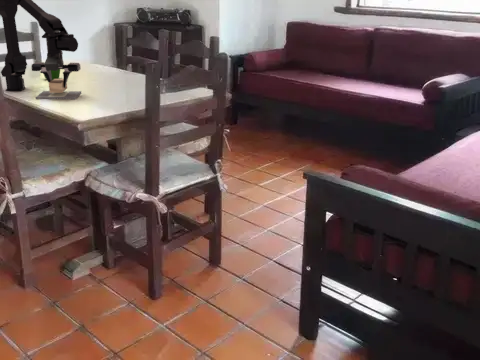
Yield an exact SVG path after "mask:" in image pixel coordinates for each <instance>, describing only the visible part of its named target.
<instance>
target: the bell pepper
mask: <svg viewBox="0 0 480 360" xmlns="http://www.w3.org/2000/svg"><path fill="white" fill-rule="evenodd" d="M60 74H61V69H58V70H57V71H54V70H51V75H52V80H54V79H60ZM43 76H44V78H45V79H46V80H47V78H46V76H45V75H44V74H43Z"/></svg>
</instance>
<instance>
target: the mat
mask: <svg viewBox="0 0 480 360" xmlns="http://www.w3.org/2000/svg"><path fill="white" fill-rule="evenodd" d="M81 94H82V91H81V90H80V91H79V90H75V91H73V90H72V91H70V90H67V91H66V90H65V91H63V92H62V93H50V91H49V90H44V91H42V92H41V93H39V94H38V95H36V96H35V99H36V100H77V98H78V97H79V96H81Z"/></svg>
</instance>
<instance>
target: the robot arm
mask: <svg viewBox="0 0 480 360" xmlns="http://www.w3.org/2000/svg"><path fill="white" fill-rule="evenodd" d="M19 6H20V7H21V8H22V9H23V10H24V11H25V12H26V13H28V14H29V15H30V16H31V17H33V18H34V19H35V20H36V21H37V22H38V26H39V27H40V28H41V29H42V31H43V32H44V34H42V36H41V39H45V41H46V50H47V51H46V52H47V53H46V59H45V60H44V62H43V61H41V62H40V61H39V62H38V61H37V62H33V63H32V64H31V71H32V72H40V73H41V74H43V76H44V75H45V76H46V78H47V79H46V78H45V79H46V80H47V82H48V83H49V82H50V81H52V75H51V70H54V71H57V70H58V69H60V70H63V71H62V74H63V75H62V76H63V79H64V88H65V87H66V84H67V85H68V80H69V77H70V75H71V73H73V72H74V73H75V72H79V71H80V70H81V64H80V63H79V62H70V63H68V64H64V59H63V52H72V53H74V52H76V51H78V48H79V43H78V42H79V41H78V40H77V37H74V36H75V35H74V34H73V33H68V30H67V29H66V28H65V26H64V25H63V22H62V20H61V19H60V18H59V17H57V16H56V15H54V14H51V13H48V12H47V11H45V10H44V9H43V8H42V7H40V6H39V5H38V4H37V3H36V2H35V1H34V0H0V17H1V18H2V19H1V20H2V26H3V31H4V38H5V45H6V52H7V53H6V55H5V57H4V66H3V68H2V69H1V70H0V73H1V74H0V75H1V77H4V78H5V84H6V89H5V91H7V92H10V91H11V92H13V91H14V92H17V91H18V92H20V91H23V90H24V89H26V87H25V78H23V75H26V70H27V66H28V62H27V56H26V55H23V53H22V52H21V49H20V43H19V37H18V30H17V23H16V16H17V12H18V11H19V10H18V7H19ZM45 76H44V77H45Z"/></svg>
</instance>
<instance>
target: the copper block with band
mask: <svg viewBox="0 0 480 360" xmlns="http://www.w3.org/2000/svg"><path fill="white" fill-rule="evenodd" d="M48 89H49V90H48V91H50V93H62V92H63V91H66V90H67V89H68V83H67V84H66V87H65V88H64V78H59V79H54V80H52V81H50V82H48Z"/></svg>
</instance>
